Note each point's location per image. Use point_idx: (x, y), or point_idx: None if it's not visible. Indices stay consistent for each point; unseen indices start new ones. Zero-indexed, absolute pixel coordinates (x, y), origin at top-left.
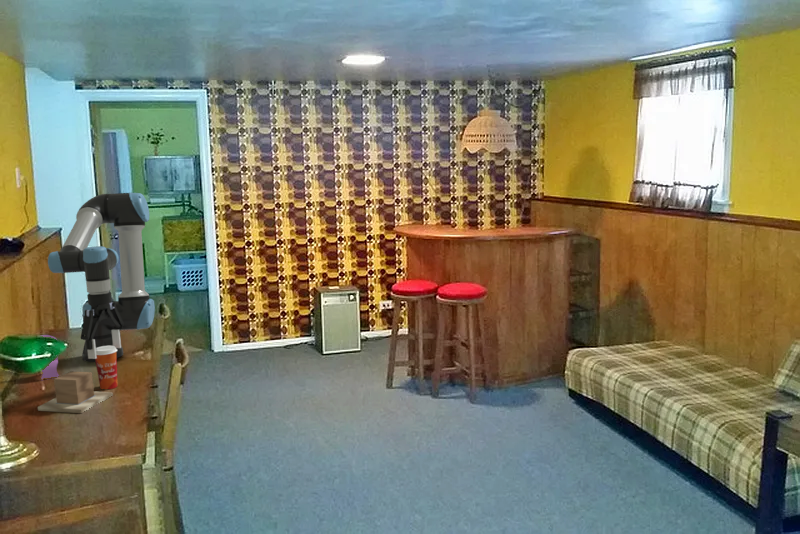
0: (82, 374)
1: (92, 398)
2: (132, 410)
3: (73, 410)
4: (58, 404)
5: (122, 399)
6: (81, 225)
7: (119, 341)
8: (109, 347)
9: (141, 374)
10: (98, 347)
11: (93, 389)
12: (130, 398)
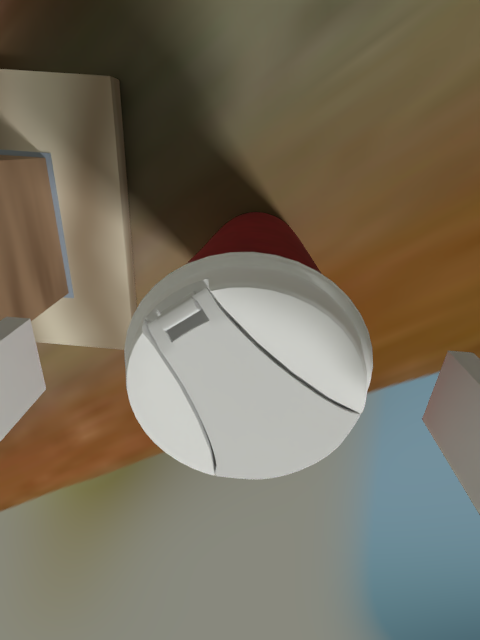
0: None
1: None
2: (30, 469)
3: None
4: None
5: (111, 397)
6: None
7: (459, 479)
8: (275, 431)
9: (468, 322)
10: (273, 306)
11: (49, 306)
12: (129, 419)
